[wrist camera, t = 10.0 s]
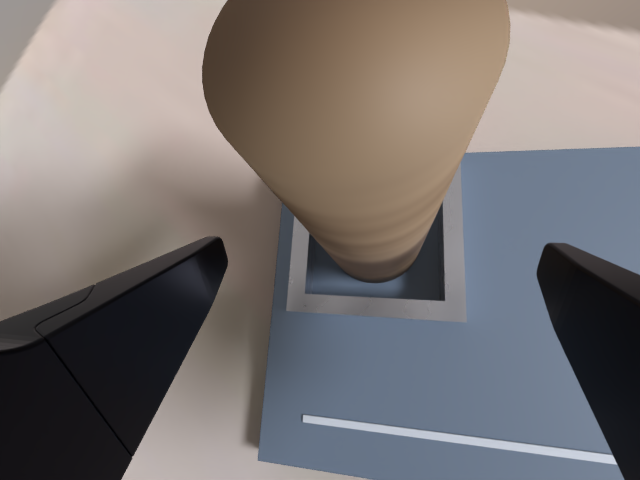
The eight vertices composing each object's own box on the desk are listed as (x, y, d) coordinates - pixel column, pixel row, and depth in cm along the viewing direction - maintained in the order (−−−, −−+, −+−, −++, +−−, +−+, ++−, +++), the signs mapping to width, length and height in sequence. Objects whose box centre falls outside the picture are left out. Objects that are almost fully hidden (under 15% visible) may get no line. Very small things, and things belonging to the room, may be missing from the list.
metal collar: (458, 322, 14) (466, 322, 13) (294, 311, 16) (286, 310, 15) (453, 166, 16) (460, 151, 15) (306, 170, 18) (299, 156, 16)
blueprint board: (864, 546, 11) (914, 570, 10) (265, 451, 16) (256, 461, 15) (758, 153, 15) (787, 140, 14) (291, 167, 19) (285, 158, 18)
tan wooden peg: (437, 258, 15) (587, 74, 4) (353, 298, 16) (260, 239, 4) (393, 183, 17) (407, -122, 5) (317, 221, 17) (169, 15, 5)
